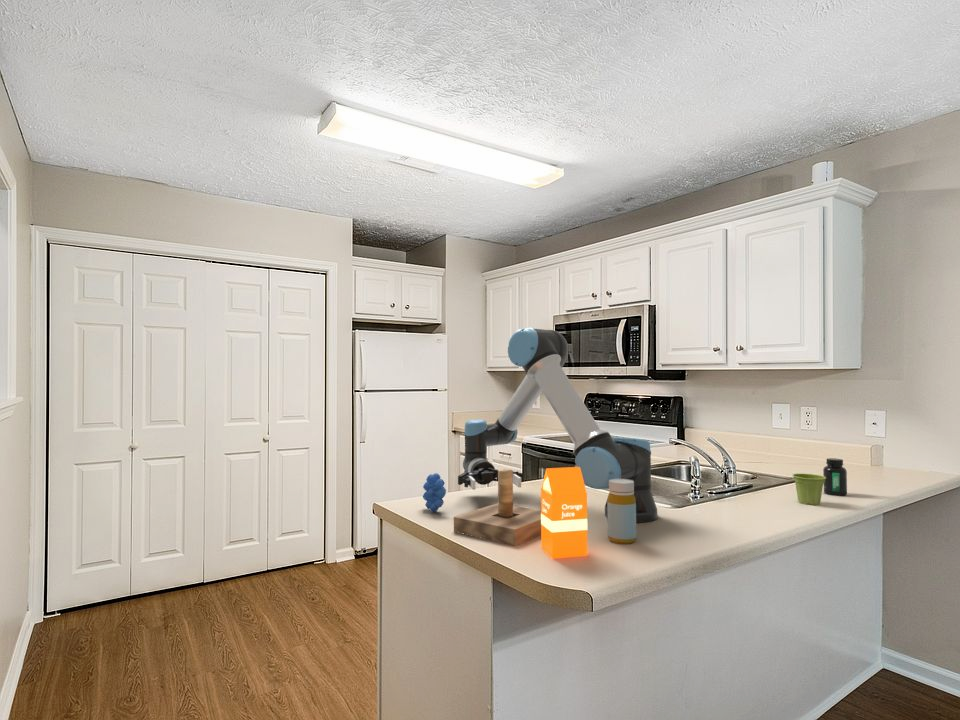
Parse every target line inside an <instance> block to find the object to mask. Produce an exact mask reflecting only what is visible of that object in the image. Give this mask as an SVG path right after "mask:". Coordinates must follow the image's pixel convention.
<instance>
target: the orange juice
mask: <svg viewBox="0 0 960 720" xmlns="http://www.w3.org/2000/svg"><path fill="white" fill-rule="evenodd" d="M540 510H541V535H540V537H541V543H540V544H541V547H540V548H541V550H542V551H543V552H544V553H545V554H547V555H548V557H550V558H551V559H552V560H554V559H565V558H574V557H575V558H576V557H578V558H579V557H588V492H587V489H586V485H585V484H584V481H583V477H582V473H581V469H580V467H575V466H573V467H572V466H571V467H568V466H567V467H551V468H545V473H544V476H543V480H542V484H541V487H540Z"/></svg>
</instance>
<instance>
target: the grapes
mask: <svg viewBox="0 0 960 720" xmlns="http://www.w3.org/2000/svg"><path fill="white" fill-rule="evenodd" d="M445 484H446V483H445V481H444V480H443V478H441V475H440V474H439V473H437V472H435V473H431V474H429V475H428V476H427V477H426V479H425V482H424V484H423V487H422V488H423V489H424V491H425V492H424V493H423V495H422V498H423V500H425V507H426V508H427V509H429V510H431V511H432V512H434V513H435V512H437V511H438V510H439V508H441V507H442V506H444V503H445V501H444V500H443V499H444V497H445V496H446V493H447V489H446V487H445Z"/></svg>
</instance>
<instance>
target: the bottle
mask: <svg viewBox="0 0 960 720" xmlns="http://www.w3.org/2000/svg"><path fill="white" fill-rule="evenodd" d="M608 495H609V496H608ZM608 495H607V498H608V501H607V500H606V501H607V512H608V517H607V538H608V540H610V542H612V543H614V544H619V545H631V544H633V543H635V542H636V541H637V522H636V499H635V496H634V481H633V480H629V479H611V480H609V488H608Z"/></svg>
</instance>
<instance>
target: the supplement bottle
mask: <svg viewBox="0 0 960 720" xmlns="http://www.w3.org/2000/svg"><path fill="white" fill-rule="evenodd" d="M825 464H826V466H824V467H823V473H822V476H824V477H826V479H825V481H824V484H823V493H824V494H825V495H827V496H834V497H846V496H847V495H848V478H847V477H848V472H847V471H848V470H847V469H846V468H845V467H844V460H843V459H842V458H826V462H825Z"/></svg>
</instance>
